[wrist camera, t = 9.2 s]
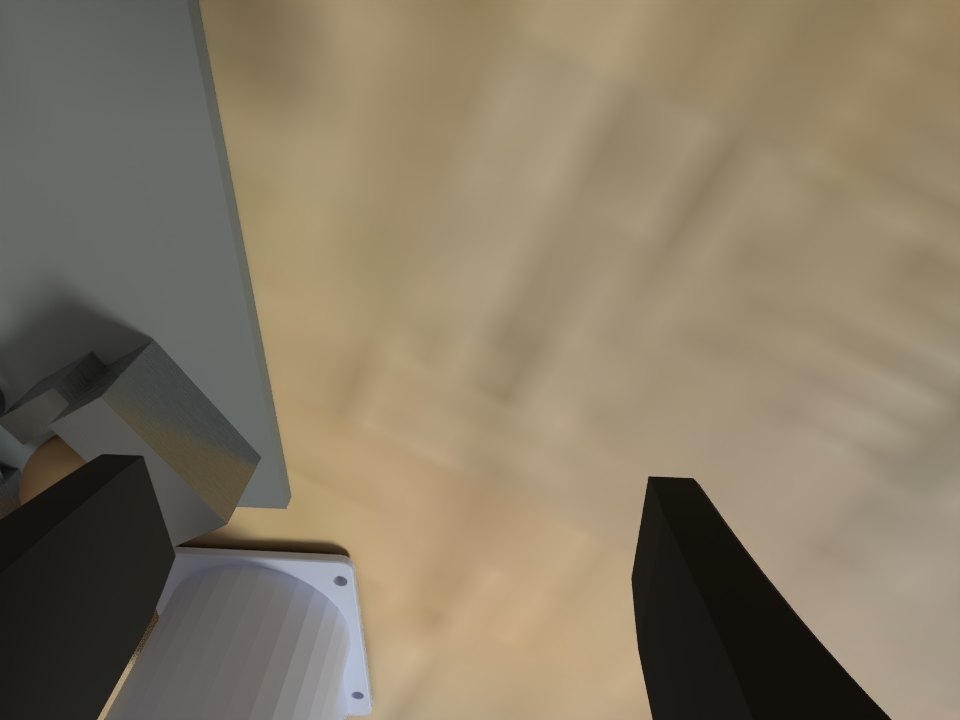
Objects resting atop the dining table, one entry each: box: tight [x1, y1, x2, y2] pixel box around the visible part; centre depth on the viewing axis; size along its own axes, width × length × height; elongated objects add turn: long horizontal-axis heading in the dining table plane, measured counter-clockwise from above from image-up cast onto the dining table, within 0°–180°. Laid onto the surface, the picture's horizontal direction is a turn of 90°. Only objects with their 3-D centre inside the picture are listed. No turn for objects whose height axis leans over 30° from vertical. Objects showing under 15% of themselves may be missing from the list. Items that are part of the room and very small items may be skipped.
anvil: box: [0, 340, 261, 547], centre depth 21 cm, size 6×4×3 cm
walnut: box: [19, 434, 87, 506], centre depth 21 cm, size 4×4×4 cm
